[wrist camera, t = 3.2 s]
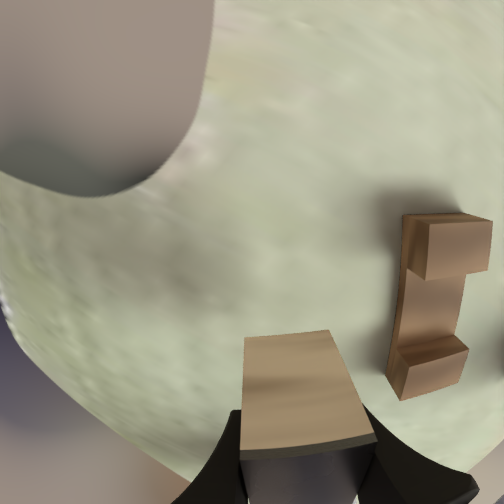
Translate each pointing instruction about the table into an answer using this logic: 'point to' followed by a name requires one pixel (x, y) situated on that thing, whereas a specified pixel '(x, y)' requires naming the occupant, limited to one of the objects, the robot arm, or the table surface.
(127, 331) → the table surface
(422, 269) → the brown u-shaped block
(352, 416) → the tan wooden block
